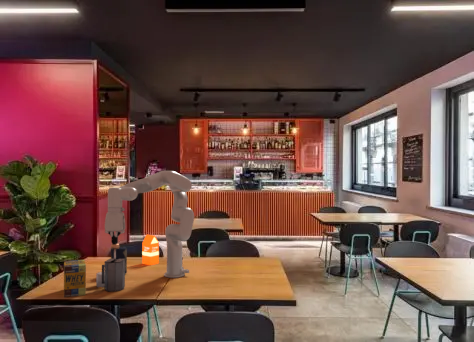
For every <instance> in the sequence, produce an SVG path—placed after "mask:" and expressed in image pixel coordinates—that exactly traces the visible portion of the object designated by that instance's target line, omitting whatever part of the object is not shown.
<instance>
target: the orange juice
mask: <svg viewBox="0 0 474 342" xmlns="http://www.w3.org/2000/svg"><path fill="white" fill-rule="evenodd" d="M141 244H142V248H141V250H142V251H141V254H142V255H141V257H142V258H141V264H143V265H147V266H153V265H154V266H155V265H158V264H159V263H160V261H159V260H160V241H158V239H157V236H156V235H153V234H146V235H145V237H144V239H143V240H142V243H141Z"/></svg>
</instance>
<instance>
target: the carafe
mask: <svg viewBox="0 0 474 342" xmlns="http://www.w3.org/2000/svg"><path fill="white" fill-rule="evenodd" d="M101 272H102V284H105V287H104V291H105V292H107V293H108V292H110V293H114V292H121V291H123V290H125V287H126V274H125V259H116V261H115V262H114V259H111V258H109V259H107V260H105V261H104V264H102V265H101ZM104 272H105V281H104Z"/></svg>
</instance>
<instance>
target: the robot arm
mask: <svg viewBox="0 0 474 342" xmlns="http://www.w3.org/2000/svg"><path fill="white" fill-rule="evenodd" d="M164 186H168V187H169V189H170V191H171V193H172V196H173V205H172V208H171V214H170V218H171V220H172V221H173V222H176V223H171V224H169V225H167V226H166V227H165V230H164V235H165V240H166V241H165V242H166V272H164V273H163V276H164V277H165V278H172V279H175V278H181V277H184V276H185V274H189V273H190V269H187V268H184V266H183V243H182V242H186V241H188V240H189V239H190V237H191V235H192V231H193V227H194V220H195V213H194V211H193V209H191V208H190V207H188V203H189V202H188V200H189V198H188V195H187V192H189V191H190V190H191V189H192V186H193V185H192V181H191V180H190V179H189V178H188V177H186V176H184V175H183V174H180V173H178V172H177V171H174V170H161V171H158V172H156V173H154V174H151V175H149V176H147V177H144V178H141V179H138V180H134V181H131V182H128V183H126V184H124V185H120V186H119V187H109V188H108V190H107V212H106V214H105V220H104V234H108V235H109V236H110V237H111V238H110V239H111V240H110V241H111V244H117V243H118V244H119V236H121V234H124V233H125V230H126V218H125V212H124V211H125V210H126V208H124V207H123V201H131V202H132V201H133V200H136V199H137V197H138V195H139V194H143V193H144V194H145V193H149V192H152V191H155V190H157V189H159V188H161V187H164Z"/></svg>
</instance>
